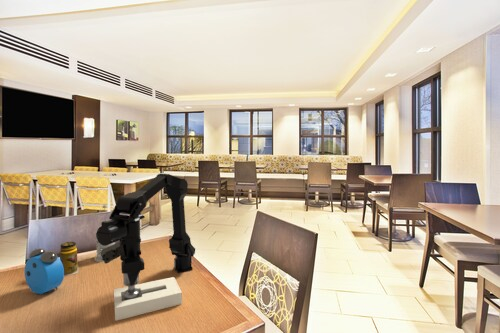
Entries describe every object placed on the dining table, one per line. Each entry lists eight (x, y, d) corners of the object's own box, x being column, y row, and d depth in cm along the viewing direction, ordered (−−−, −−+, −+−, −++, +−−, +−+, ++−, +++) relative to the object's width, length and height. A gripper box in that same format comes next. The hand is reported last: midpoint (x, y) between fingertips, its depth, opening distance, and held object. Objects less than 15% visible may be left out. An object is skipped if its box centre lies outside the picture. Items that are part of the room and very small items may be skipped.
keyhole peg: (138, 291, 92) (137, 265, 91) (139, 298, 88) (139, 271, 87) (123, 294, 90) (122, 268, 89) (124, 301, 86) (123, 274, 85)
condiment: (78, 273, 111) (78, 244, 111) (53, 278, 107) (52, 248, 106) (78, 266, 117) (77, 239, 117) (54, 271, 113) (53, 242, 112)
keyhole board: (174, 287, 101) (174, 276, 101) (181, 303, 91) (181, 292, 90) (114, 300, 92) (114, 289, 92) (115, 320, 81) (114, 308, 81)
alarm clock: (65, 290, 98) (63, 250, 97) (46, 299, 92) (45, 256, 91) (42, 283, 103) (41, 244, 102) (24, 290, 97) (22, 250, 96)
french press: (101, 263, 120) (100, 208, 118) (87, 257, 126) (86, 205, 125) (122, 256, 129) (121, 204, 127) (108, 251, 135) (106, 201, 133)
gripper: (102, 230, 92) (103, 274, 93) (101, 249, 75) (103, 302, 76) (137, 226, 97) (138, 268, 98) (144, 242, 80) (145, 293, 82)
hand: (131, 281), depth 88 cm, fingers closed on keyhole peg, 5 cm apart
